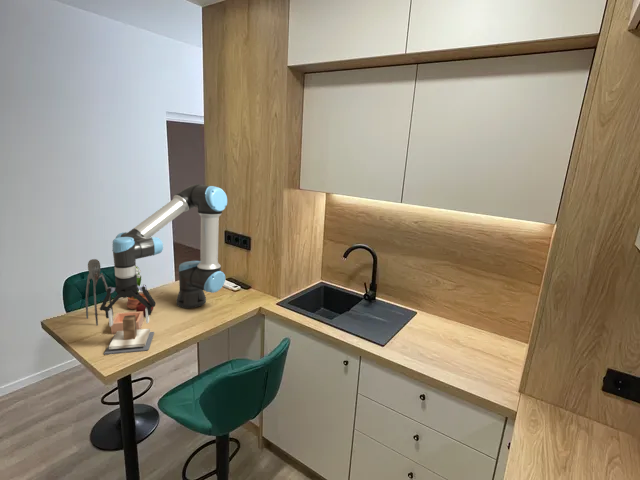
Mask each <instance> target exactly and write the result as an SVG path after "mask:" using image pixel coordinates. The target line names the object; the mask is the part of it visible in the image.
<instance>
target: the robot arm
mask: <svg viewBox="0 0 640 480" xmlns="http://www.w3.org/2000/svg"><path fill="white" fill-rule="evenodd" d="M227 205H228V196H227V193H226V192H225V191H224V190H223V189H222V188H220V187H218V186H215V185H205V184H193V185H192V184H191V185H190V186H187V187H186V188H184V189H182V190H181V191H179V192H177V193H175V194H174V196H172V200H170V201H169V202H167V203H165V205H164V206H161V208H159V209H157V211H155V212H154V213H152V214H150V216H148V217H147V218H145V219H144V220H143V221H141V222H140V223H138V224H137V225H136V226H135V227H133V228H132V229H130V230H129V231H127V232H126V231H125V232H120V233H118V234H117V235H116V236H115V238H114V239H113V240H112V256H113V257H112V258H113V265H114V266H113V267H114V276H115V277H114V278H115V287H113V286H108V289H107V292H106V295H105V297H104V299H103V301H102V303H101V305H100V307H99V311H104V312H105V318H106V319H108V322H109V324H108V325H109V327H111V326H112V325H113V319H114V312H113V313H112V309H111V307H112V308H113V306H114V305H115V304H116V302H117V301H118V300H120V298H123V299H126V298H128V297H129V298H131V297H134V298H136V299H137V300H139V301H140V302H141V303H142V304H143V305H144V306H145V307H146V309H145V312H146V316H145V323H146V324H149V322H150V316H151V315H152V313H153V311H152V312H151V307H153V308H154V307H155V306H156V301H155V299H154V298H153V297H152V295H151V293H150V292H149V290H148V289H147V285H146V284H142V285H140V286H138V285H137V275H136V266H137V265H136V264H137V263H136V260H139V259H143V258H147V257H153V256H156V255H159V254H161V253H162V252H163V250H164V244H163V241H162V239H161V238H159V237H158V236H154V235H155V234H156V233H157V232H159V231H161V229H163V228H164V227H165V226H167V225H168V224H169V223H171V222H172V221H173V220H175V219H176V218H177V217H178V216H180V215H181V214H183V212H188V211H189V210H191V209H194V208H196V209H197V214H198V215H199V216H200V252H199V253H200V260H191V261H184V262H182V263H180V264H179V266H178V283H179V291H178V294H177V297H176V301H175V302H176V306H178V308H179V307H180V308H183V309H194V308H199V307H201V306H204V305H205V304H206V303H207V297H206V294H205V292H206V293H211V294H212V293H213V294H214V293H217V292H219V291H220V290H221V289H222V288H223V287H224V285H225V283H226V274H225V273H224V272H223V271H221V270H222V266H221V264H220V263H219V226H220V225H219V223H220V220H219V219H220V217H221V215H222V214H223V211H224V210H225V209H226V207H227ZM138 289H139V290H138ZM137 291H138V292H137ZM139 291H140V292H142V294H144V295H145V297H146V298H147V300H148V301H149V302H148V301H147V300H146V299H144V298H143V297H142V296H141V295H140V294H139ZM114 292H116V294H117V295H116V296H114V298H113V299H112V300H111V303H109V304H108V305H107V303H108V302H109V297H111V295H112V294H113V293H114Z"/></svg>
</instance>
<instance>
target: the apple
mask: <svg viewBox="0 0 640 480" xmlns="http://www.w3.org/2000/svg"><path fill="white" fill-rule="evenodd" d="M148 302H149V301H148ZM145 309H146V307H145V306H144V305H143V304H142V303H141V302H139V303H138V304H137V306H136V309H135V312H141V311H143V315H144V317H146V312H145ZM153 311H154V307H151V312H152V313H153Z"/></svg>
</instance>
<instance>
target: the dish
mask: <svg viewBox="0 0 640 480" xmlns="http://www.w3.org/2000/svg"><path fill="white" fill-rule="evenodd" d="M130 315H136V330H138V329H142V326H143V324H144V322H145V319H144V318H145V316H144V315H143V311H141V312H136V311H128V312H117V313H116V314H115V316H114V317H113V325H112V326H110V329H111V331H110V332H111V335H115V334H116V332H117V331H123V318H124V317H125V316H130Z"/></svg>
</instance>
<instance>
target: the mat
mask: <svg viewBox="0 0 640 480" xmlns="http://www.w3.org/2000/svg"><path fill="white" fill-rule="evenodd" d="M154 335H155V331H150V333H149V336H148V339H147V342H146V344H145V346H141V347H131V348H120V349H109V345H110V343H111V342H112V340H113V338H114V336H115V334H113V335H112V338H111V340H110V342H109V344H108V345H107V347H106V349H105V351H104V353H103V355H104V356H105V355H106V356H107V355H116V354H117V355H118V354H126V353H137V352H148V351H147V350H150V347H151V344H152V342H153V338H154Z"/></svg>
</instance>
